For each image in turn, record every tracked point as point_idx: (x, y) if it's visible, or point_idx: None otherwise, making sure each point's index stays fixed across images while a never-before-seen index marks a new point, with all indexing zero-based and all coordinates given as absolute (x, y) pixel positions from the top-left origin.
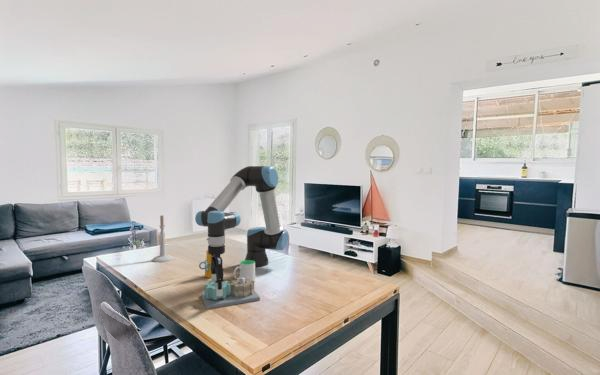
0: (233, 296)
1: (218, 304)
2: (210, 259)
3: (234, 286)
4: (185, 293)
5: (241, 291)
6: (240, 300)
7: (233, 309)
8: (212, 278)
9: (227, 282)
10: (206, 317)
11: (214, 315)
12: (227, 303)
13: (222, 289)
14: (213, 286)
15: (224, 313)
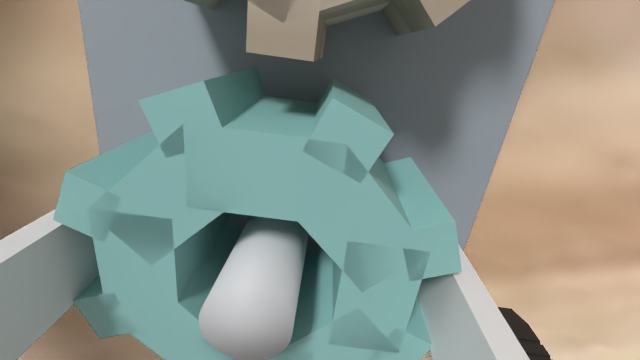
0: (379, 48)
1: (461, 244)
2: None
3: (357, 3)
4: (55, 331)
5: None
6: (546, 14)
7: (596, 141)
8: (37, 328)
9: (219, 106)
10: (554, 341)
11: (570, 297)
12: (488, 166)
13: (476, 277)
14: (317, 350)
15: (602, 232)
